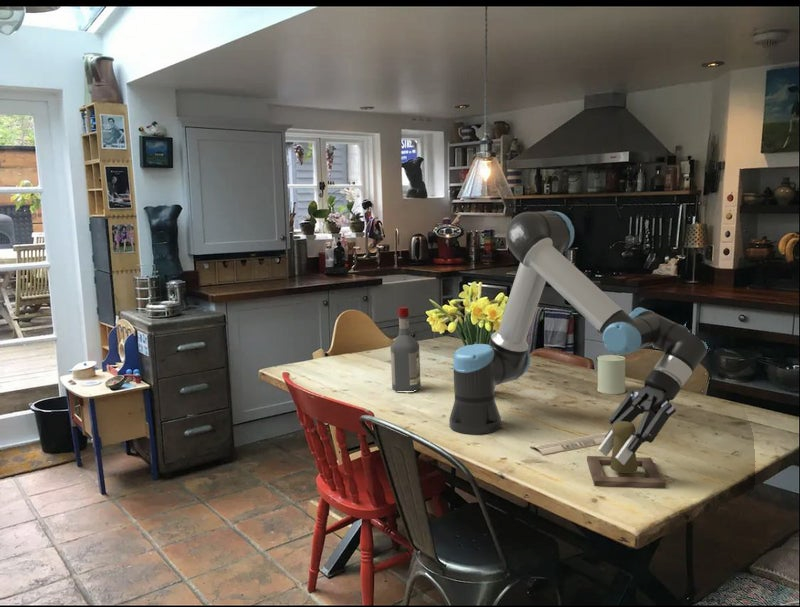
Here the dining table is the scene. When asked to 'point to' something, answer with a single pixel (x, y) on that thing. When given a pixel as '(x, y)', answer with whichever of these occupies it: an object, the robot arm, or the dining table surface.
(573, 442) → the newspaper
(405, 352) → the liquor
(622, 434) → the olive pawn
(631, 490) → the dining table surface
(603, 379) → the can
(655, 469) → the cutout board
